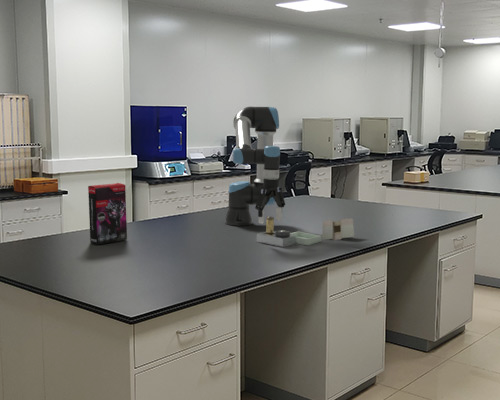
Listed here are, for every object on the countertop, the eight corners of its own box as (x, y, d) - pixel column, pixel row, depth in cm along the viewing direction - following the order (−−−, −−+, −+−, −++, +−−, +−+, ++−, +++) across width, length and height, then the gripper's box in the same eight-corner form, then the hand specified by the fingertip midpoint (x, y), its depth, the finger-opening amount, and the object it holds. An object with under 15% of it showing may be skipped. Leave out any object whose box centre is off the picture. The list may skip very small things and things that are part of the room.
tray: (283, 240, 299) (283, 234, 299) (298, 237, 308) (298, 231, 308) (306, 245, 290) (307, 239, 290) (321, 241, 299) (321, 235, 299)
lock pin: (264, 241, 297) (265, 217, 295) (268, 240, 300) (269, 216, 298) (270, 242, 295) (270, 218, 293) (274, 241, 298) (275, 217, 296)
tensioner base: (256, 241, 296) (256, 228, 295) (269, 238, 304) (269, 225, 303) (282, 247, 286) (283, 233, 285) (295, 243, 293) (295, 230, 292)
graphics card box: (96, 245, 280) (95, 187, 275) (88, 243, 284) (87, 185, 280) (127, 240, 292) (127, 184, 288) (118, 238, 297) (118, 182, 292)
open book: (356, 247, 308) (355, 223, 317) (354, 236, 301) (353, 213, 311) (324, 249, 311) (323, 226, 321) (321, 239, 305) (321, 216, 314)
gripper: (260, 180, 281) (259, 226, 284) (293, 177, 300) (291, 219, 303) (248, 179, 286) (247, 223, 289) (281, 176, 304) (279, 217, 307)
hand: (270, 221), depth 296 cm, fingers open, 13 cm apart
